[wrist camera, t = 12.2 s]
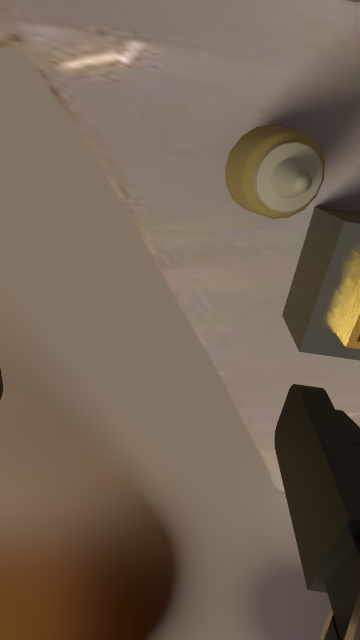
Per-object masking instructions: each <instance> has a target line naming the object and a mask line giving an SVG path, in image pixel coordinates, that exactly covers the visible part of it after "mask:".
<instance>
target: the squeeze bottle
mask: <svg viewBox="0 0 360 640" xmlns="http://www.w3.org/2000/svg"><path fill="white" fill-rule="evenodd" d="M324 165H325V162H324V159H323V156H322V153H321V150H320V147H319V145H318V144H317V143H316V142H315V141H314V140H313V139H312V138H311V137H310V136H309V135H308V134H306V133H303V132H300V131H297V130H294V129H290V128H286V127H282V126H277V125H268V126H261V127H256V128H255V129H253V130H251V131H250V132H248V133H246V134H245V135H243V136H242V137H241V138H240V139H239V141H238V142H237V143H236V145H235V146H234V147H233V148H232V150H231V151H230V154H229V158H228V161H227V164H226V167H225V172H226V185H227V188H228V190H229V192H230V194H231V196H232V198H233V200H235V201H236V202H237V203H238V204H239V205H240V206H241V207H242V208H244V209H246V210H249V211H251V212H254V213H256V214H259V215H262V216H265V217H269V218H272V219H277V218H286V217H290V216H292V215H294V214H296V213H298V212H300V211H302V210H304V209H305V208H306V207H307V206H308V205H309V204H310V202H311V201H312V200H313V199H314V198H315V197H316V195H317V193H318V191H319V189H320V187H321V184H322V182H323V179H324Z"/></svg>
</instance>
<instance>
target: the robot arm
mask: <svg viewBox="0 0 360 640" xmlns="http://www.w3.org/2000/svg"><path fill="white" fill-rule="evenodd" d="M350 1H353V2H360V0H350ZM2 392H3V382H2V376H1V370H0V399H1V397H2ZM275 450H276V455H277V459H278V464H279V468H280V472H281V477H282V481H283V485H284V490H285V494H286V498H287V502H288V507H289V511H290V516H291V519H292V524H293V529H294V533H295V537H296V541H297V545H298V550H299V555H300V559H301V563H302V567H303V572H304V576H305V580H306V585H307V589H308V590H314V591H320V592H327V593H328V596H329V600H330V603H331V607H332V611H331V612H330V614H329V616H328V618H327V621H326V624H325V626H324V629H323V632H322V634H321V637H320V640H360V428H359V426H358V425H357V424H356V423H355V422H354V421H353V420H352V419H351V418H350V417H349V416H347V415H346V414H345V413H344V412H343V411H341V410H335V408H334V406H333V404H332V402H331V400H330V398H329V396H328V394H327V393H326V391H325V390H324V389H323V388H318V387H311V386H304V385H297V384H293V385H292V386H291V387H290V389H289V392H288V395H287V397H286V400H285V403H284V406H283V409H282V412H281V414H280V417H279V420H278V423H277V426H276V430H275Z"/></svg>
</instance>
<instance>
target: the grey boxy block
mask: <svg viewBox="0 0 360 640" xmlns="http://www.w3.org/2000/svg"><path fill="white" fill-rule="evenodd" d="M282 316H283V318H284V320H285V322H286V324H287V327H288V329H289V331H290V333H291V335H292V337H293V339H294V342H295V344H296V346H297V348H298V350H299V352H305V353H312V354H319V355H326V356H333V357H340V358H347V359H354V360H360V213H355V212H348V211H341V210H334V209H327V208H320V207H315V208H314V211H313V215H312V218H311V221H310V225H309V228H308V231H307V235H306V238H305V241H304V245H303V248H302V251H301V255H300V258H299V261H298V265H297V268H296V271H295V275H294V278H293V281H292V285H291V288H290V291H289V295H288V298H287V301H286V305H285V308H284V311H283V315H282Z"/></svg>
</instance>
